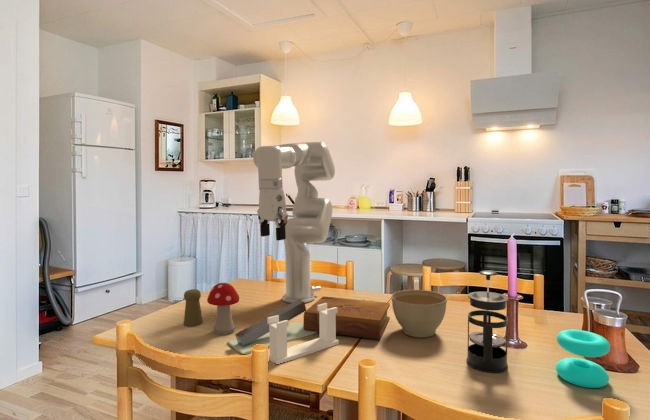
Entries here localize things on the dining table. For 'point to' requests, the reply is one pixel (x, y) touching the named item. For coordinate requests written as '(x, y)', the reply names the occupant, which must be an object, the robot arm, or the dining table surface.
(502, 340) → the french press
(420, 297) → the planter bowl
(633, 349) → the dining table surface
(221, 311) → the decorative mushroom
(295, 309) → the rail
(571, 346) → the donuts
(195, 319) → the cork
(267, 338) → the mat
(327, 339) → the rack
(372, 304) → the diary
